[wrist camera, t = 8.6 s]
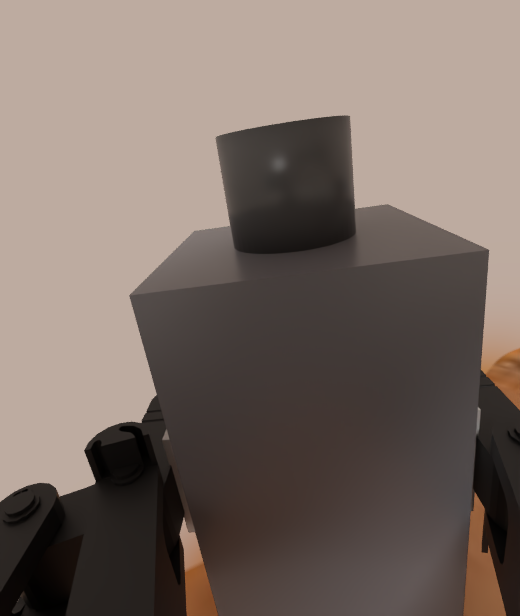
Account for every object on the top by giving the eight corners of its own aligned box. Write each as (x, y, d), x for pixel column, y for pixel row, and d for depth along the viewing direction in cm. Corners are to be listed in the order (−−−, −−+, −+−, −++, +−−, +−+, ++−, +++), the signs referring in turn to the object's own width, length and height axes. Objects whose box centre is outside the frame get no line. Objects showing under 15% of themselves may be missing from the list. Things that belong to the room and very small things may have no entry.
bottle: (395, 541, 14) (385, 117, 9) (454, 730, 10) (501, 81, 5) (258, 551, 15) (177, 149, 10) (252, 736, 10) (88, 147, 5)
